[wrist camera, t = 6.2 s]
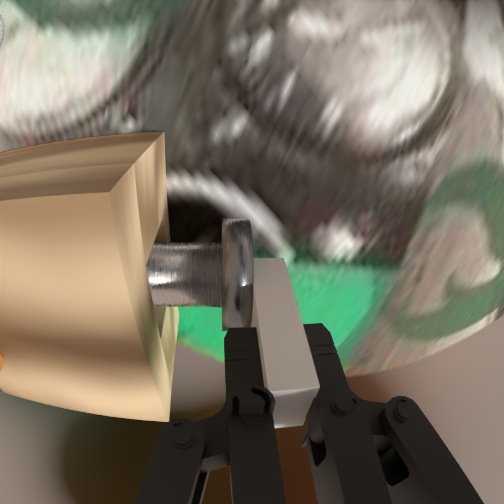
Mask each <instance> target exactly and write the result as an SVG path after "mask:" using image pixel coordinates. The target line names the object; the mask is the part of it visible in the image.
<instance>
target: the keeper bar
mask: <svg viewBox="0 0 504 504" xmlns="http://www.w3.org/2000/svg"><path fill="white" fill-rule="evenodd" d="M4 363H5V360H4V358H3V357H2V356H1V354H0V372H1V369H2V367H3V365H4Z"/></svg>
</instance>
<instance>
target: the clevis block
mask: <svg viewBox="0 0 504 504" xmlns="http://www.w3.org/2000/svg"><path fill="white" fill-rule="evenodd" d="M154 242H171V241H170V230H169V217H168V203H167V187H166V167H165V137H164V131H161V132H143V133H128V134H116V135H106V136H96V137H88V138H80V139H72V140H65V141H58V142H52V143H46V144H40V145H35V146H29V147H24V148H19V149H14V150H10V151H5V152H1V153H0V354H1V356H2V357H3V358H4V360H5V363H4V365H3V367H2V369H1V372H0V388H1V389H2V390H3V392H5V393H8V394H12V395H15V396H18V397H22V398H25V399H29V400H33V401H37V402H41V403H44V404H48V405H53V406H57V407H62V408H67V409H71V410H77V411H82V412H88V413H94V414H100V415H107V416H113V417H121V418H130V419H140V420H151V421H163V422H169V413H170V401H171V389H172V377H173V367H174V356H175V348H176V339H177V331H178V322H179V312H178V307H156V306H153V301H152V295H151V290H150V285H149V279H148V273H147V267H146V264H147V261H148V258H149V255H150V252H151V249H152V247H153V244H154Z"/></svg>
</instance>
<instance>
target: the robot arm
mask: <svg viewBox="0 0 504 504" xmlns="http://www.w3.org/2000/svg"><path fill="white" fill-rule="evenodd" d="M253 264H254V284H253V312H252V322H251V327H240V328H229V330H228V332H227V334H226V336H225V338H224V353H225V382H226V402H225V404H224V406H223V408H222V409H221V410H220V411H219V412H218V413H216V414H215V415H213V416H211V417H208V418H205V419H202V420H198V421H195V422H194V421H192V420H189V419H184V418H178V419H174V420H170V421H169V422H168V423H166V424H165V425H164V426H163V428H162V429H161V431H160V433H159V435H158V438H157V441H156V444H155V446H154V449H153V452H152V455H151V458H150V461H149V463H148V466H147V469H146V472H145V475H144V478H143V481H142V483H141V486H140V489H139V492H138V495H137V498H136V501H135V504H201V503H202V498H203V495H204V491H205V487H206V483H207V479H208V475H209V471H212V470H215V469H218V468H221V467H224V466H228V465H230V477H231V490H232V504H286V500H285V493H284V486H283V480H282V473H281V466H280V461H279V453H278V447H277V440H276V433H275V428H281V427H291V426H300V425H303V424H304V421H305V420H306V423H307V427H308V431H307V433H306V435H305V437H304V439H303V441H302V447H305V445H306V444H307V448H308V453H309V459H310V464H311V469H312V474H313V479H314V485H315V490H316V495H317V500H318V504H484V503H483V501H482V500H481V498H480V497H479V495H478V494H477V492H476V490H475V489H474V487H473V486H472V484H471V483H470V481H469V479H468V478H467V476H466V475H465V473H464V472H463V471H462V469H461V467H460V466H459V464H458V463H457V461H456V460H455V458H454V457H453V455H452V454H451V452H450V451H449V450H448V448H447V447H446V445H445V444H444V442H443V441H442V439H441V438H440V436H439V435H438V434H437V432H436V431H435V429H434V428H433V426H432V425H431V423H430V422H429V421H428V419H427V418H426V416H425V415H424V414H423V412H422V411H421V409H420V408H419V406H418V405H417V404H416V403H415V402H414V401H413V400H412V399H410V398H408V397H405V396H397V397H394V398H392V399H391V400H390V401H388V402H387V403H380V402H372V401H371V402H370V401H366V400H363V399H361V398H359V397H358V396H357V395H355V394H354V393H353V392H352V391H351V390H350V388H349V386H348V383H347V380H346V377H345V374H344V371H343V368H342V365H341V362H340V359H339V356H338V354H337V351H336V348H335V346H334V342H333V339H332V336H331V333H330V332H329V331H328V330H327V329H326V327H325V326H324V325H323V324H322V323H317V324H303V323H302V320H301V316H300V313H299V309H298V306H297V302H296V299H295V295H294V292H293V288H292V285H291V282H290V278H289V275H288V271H287V268H286V265H285V261H284V258H253Z"/></svg>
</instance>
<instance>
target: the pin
mask: <svg viewBox="0 0 504 504" xmlns="http://www.w3.org/2000/svg"><path fill="white" fill-rule="evenodd" d="M146 267H147V273H148V279H149V285H150V290H151V295H152V301H153V306H156V307H222V331H228V330H229V328H240V327H251V322H252V312H253V284H254V264H253V241H252V231H251V224H250V220H249V219H222V243H213V242H154V244H153V247H152V249H151V252H150V255H149V258H148V261H147V264H146Z"/></svg>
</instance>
